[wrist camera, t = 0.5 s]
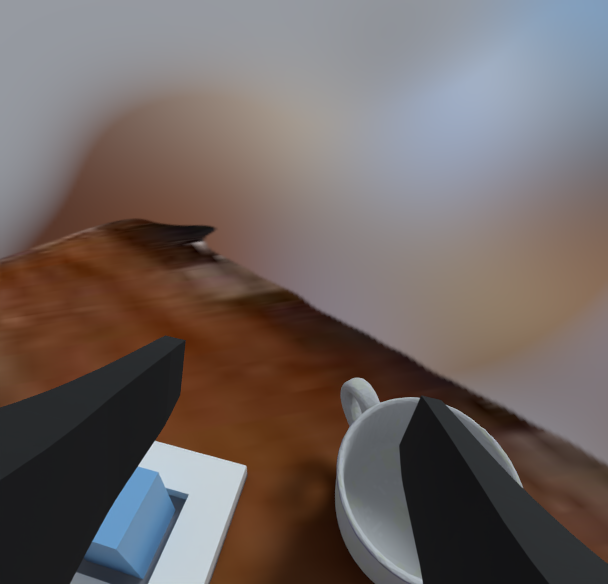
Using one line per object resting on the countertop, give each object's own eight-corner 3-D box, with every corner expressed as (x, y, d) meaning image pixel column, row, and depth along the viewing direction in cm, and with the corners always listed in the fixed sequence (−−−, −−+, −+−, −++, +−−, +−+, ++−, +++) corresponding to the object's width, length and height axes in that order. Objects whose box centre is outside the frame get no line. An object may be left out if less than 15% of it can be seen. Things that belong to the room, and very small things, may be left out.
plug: (143, 579, 22) (116, 549, 18) (86, 560, 22) (48, 527, 19) (175, 510, 25) (158, 472, 21) (125, 495, 26) (99, 455, 22)
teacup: (511, 589, 23) (579, 551, 18) (359, 653, 20) (388, 630, 15) (407, 406, 33) (431, 349, 28) (296, 433, 30) (301, 375, 25)
